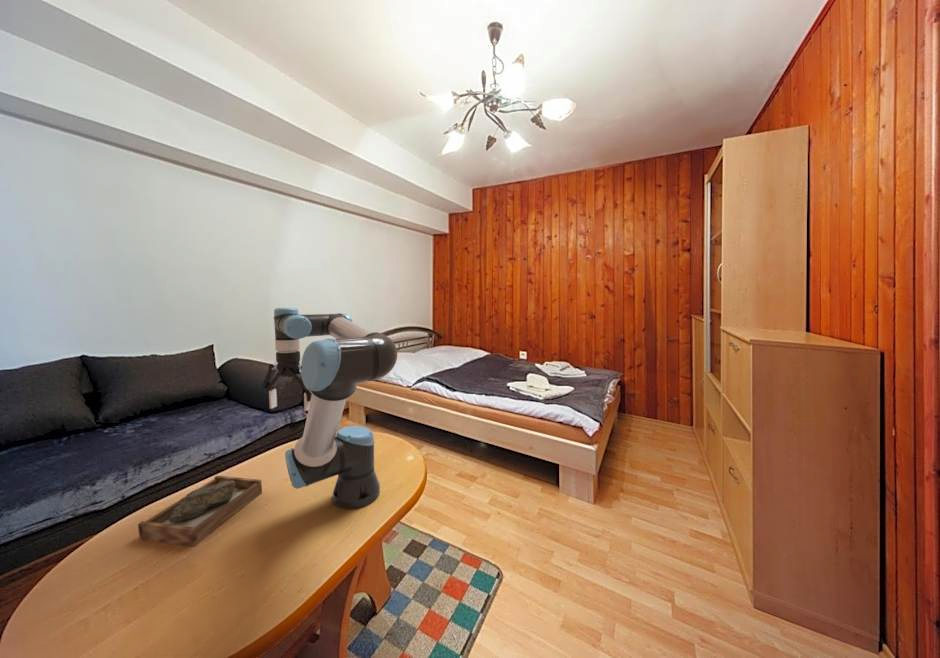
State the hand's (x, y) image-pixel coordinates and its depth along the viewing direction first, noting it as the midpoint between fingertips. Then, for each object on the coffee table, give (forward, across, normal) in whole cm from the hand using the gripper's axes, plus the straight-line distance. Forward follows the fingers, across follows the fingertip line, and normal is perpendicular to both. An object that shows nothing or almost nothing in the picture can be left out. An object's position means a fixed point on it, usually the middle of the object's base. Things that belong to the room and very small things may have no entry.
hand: (290, 408), depth 117 cm
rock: (+25, +14, +22) cm, 36 cm away
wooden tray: (+27, +13, +22) cm, 37 cm away
